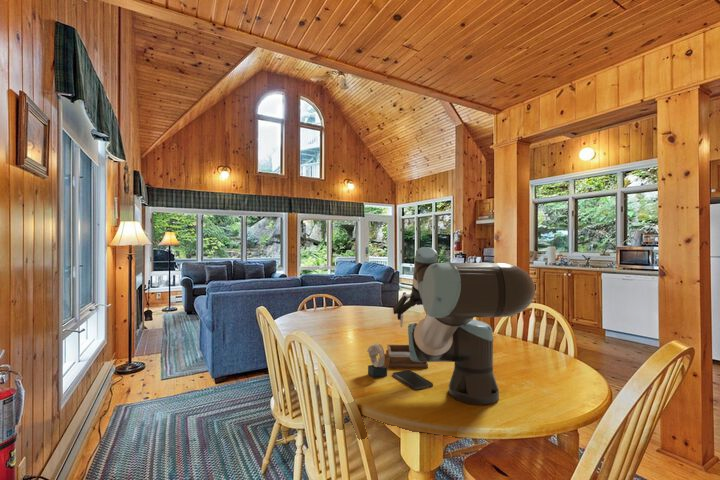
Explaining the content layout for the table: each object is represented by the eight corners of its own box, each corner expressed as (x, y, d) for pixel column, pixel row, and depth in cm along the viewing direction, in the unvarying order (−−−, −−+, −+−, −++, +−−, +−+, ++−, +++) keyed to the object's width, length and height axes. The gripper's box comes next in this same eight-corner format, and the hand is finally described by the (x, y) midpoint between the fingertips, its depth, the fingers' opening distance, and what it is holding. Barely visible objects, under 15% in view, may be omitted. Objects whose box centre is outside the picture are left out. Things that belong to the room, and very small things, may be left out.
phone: (415, 388, 117) (391, 372, 130) (415, 392, 117) (391, 376, 130) (434, 384, 120) (409, 369, 134) (434, 387, 120) (409, 372, 134)
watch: (379, 370, 135) (378, 340, 135) (389, 377, 128) (389, 346, 128) (365, 372, 133) (365, 342, 133) (375, 380, 125) (375, 348, 125)
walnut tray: (427, 368, 137) (427, 357, 137) (388, 367, 137) (388, 357, 137) (421, 353, 154) (421, 344, 154) (386, 353, 154) (386, 344, 154)
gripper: (455, 278, 133) (447, 317, 146) (387, 278, 133) (386, 316, 146) (459, 292, 127) (451, 331, 139) (388, 292, 127) (387, 331, 140)
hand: (418, 324), depth 143 cm, fingers open, 13 cm apart
